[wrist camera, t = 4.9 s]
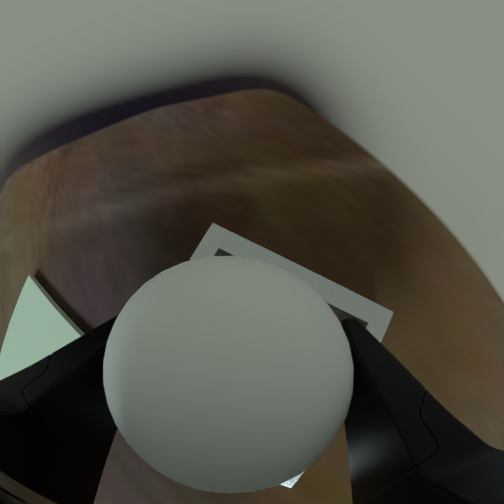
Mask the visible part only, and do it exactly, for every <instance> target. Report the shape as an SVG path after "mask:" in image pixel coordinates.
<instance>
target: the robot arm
mask: <svg viewBox="0 0 504 504" xmlns="http://www.w3.org/2000/svg"><path fill="white" fill-rule="evenodd" d="M117 317H118V315H117V316H115V317H114V318H112V319H110V320H108V321H107V322H105V323H103V324H101V325H100V326H98V327H96V328H94V329H93V330H91V331H89V332H87V333H86V334H84V335H82V336H81V337H79V338H77V339H75V340H74V341H72V342H70V343H68V344H67V345H65V346H63V347H62V348H60V349H58V350H57V351H55V352H53V353H52V354H50V355H48V356H46V357H45V358H43V359H41V360H39V361H38V362H36V363H34V364H32V365H30V366H28V367H26V368H24V369H22V370H20V371H18V372H16V373H14V374H12V375H10V376H8V377H6V378H4V379H2V380H0V504H93V503H94V500H95V496H96V493H97V489H98V486H99V483H100V479H101V476H102V473H103V469H104V466H105V463H106V460H107V457H108V454H109V451H110V448H111V445H112V442H113V439H114V436H115V433H116V430H117V428H118V427H117V426H116V424H115V422H114V419H113V417H112V414H111V412H110V409H109V407H108V404H107V399H106V394H105V389H104V384H103V361H104V355H105V350H106V345H107V341H108V338H109V335H110V333H111V330H112V328H113V325H114V323H115V321H116V319H117ZM341 326H342V328H343V330H344V333H345V335H346V337H347V340H348V342H349V346H350V351H351V356H352V361H353V366H354V381H353V394H352V399H351V403H350V407H349V411H348V414H347V417H346V419H345V421H344V423H345V431H346V439H347V447H348V456H349V465H350V476H351V487H352V501H353V504H504V451H503V450H499V449H496V448H493V447H491V446H489V445H488V444H486V443H485V442H484V441H482V440H481V439H480V438H479V437H478V436H477V435H475V434H474V433H473V432H472V431H471V430H469V429H468V428H467V427H466V426H465V425H464V424H462V423H461V422H460V421H459V420H458V419H456V418H455V417H454V416H453V415H452V414H451V413H450V412H449V411H448V410H446V409H445V408H444V407H443V406H442V405H441V404H440V403H439V402H438V401H437V400H436V399H435V398H434V397H433V396H432V395H431V394H430V393H429V392H428V390H425V388H424V386H423V385H422V384H421V383H420V382H419V381H418V380H417V379H416V378H415V377H414V376H413V375H412V374H411V373H410V372H409V371H408V370H407V369H406V368H405V367H404V366H403V365H402V364H401V363H400V362H399V361H398V360H397V359H396V358H395V357H394V356H393V355H392V354H391V353H390V352H389V351H388V350H387V349H386V348H385V347H384V346H383V345H382V344H381V343H380V342H379V341H378V340H377V339H376V338H375V337H374V336H373V335H372V334H371V333H370V332H369V331H368V330H367V329H366V328H365V327H364V326H363V325H362V324H361V323H360V322H359V321H358V320H357V319H344V320H343V321H342V323H341Z"/></svg>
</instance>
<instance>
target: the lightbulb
mask: <svg viewBox="0 0 504 504" xmlns="http://www.w3.org/2000/svg"><path fill="white" fill-rule="evenodd" d="M353 381H354V366H353V361H352V356H351V351H350V346H349V342H348V340H347V337H346V335H345V333H344V330H343V328H342V326H341V324H340V321H339V319H338V318H337V316H336V315H335V314H334V312H333V311H332V309H331V308H330V307H329V305H328V304H327V303H326V301H325V300H324V299H323V298H322V297H321V296H320V295H319V294H318V293H317V292H316V291H315V290H314V289H313V288H312V287H310V286H309V285H308V284H307V283H306V282H305V281H303V280H302V279H300V278H298V277H297V276H295V275H293V274H292V273H290V272H289V271H287V270H285V269H284V268H281V267H278V266H276V265H273V264H270V263H268V262H265V261H262V260H259V259H253V258H247V257H241V256H210V257H205V258H200V259H196V260H191V261H186V262H183V263H180V264H178V265H176V266H173V267H171V268H169V269H166V270H164V271H162V272H161V273H159V274H158V275H156V276H155V277H153V278H152V279H150V280H149V281H148V282H146V283H145V284H144V285H143V286H142V287H141V288H140V289H139V290H138V291H137V292H136V293H135V294H134V295H133V296H132V297H131V298H130V299H129V300H128V302H127V303H126V305H125V306H124V308H123V309H122V311H121V312H120V314H119V315H118V317H117V319H116V321H115V323H114V325H113V328H112V330H111V333H110V335H109V338H108V341H107V345H106V350H105V355H104V361H103V384H104V389H105V394H106V399H107V404H108V407H109V409H110V412H111V414H112V417H113V419H114V422H115V424H116V426H117V427H118V429H119V431H120V432H121V434H122V436H123V437H124V439H125V440H126V442H127V443H128V444H129V445H130V447H131V448H132V449H133V450H134V451H135V452H136V453H137V454H138V456H139V457H140V458H141V459H142V460H144V461H145V462H146V463H147V464H149V465H150V466H151V467H152V468H154V469H155V470H156V471H158V472H159V473H161V474H163V475H164V476H166V477H168V478H170V479H172V480H174V481H176V482H178V483H180V484H183V485H186V486H189V487H192V488H195V489H198V490H202V491H209V492H217V493H244V492H255V491H259V490H263V489H267V488H270V487H274V486H277V485H280V484H282V483H284V482H286V481H288V480H290V479H292V478H294V477H296V476H298V475H300V474H301V473H302V472H304V471H305V470H306V469H307V468H309V467H310V466H311V465H313V464H314V463H315V462H316V461H318V460H319V458H320V457H321V456H322V455H323V454H324V453H325V451H326V450H327V449H328V448H329V447H330V445H331V444H332V443H333V442H334V440H335V438H336V437H337V435H338V433H339V431H340V429H341V427H342V425H343V423H344V421H345V419H346V417H347V414H348V411H349V407H350V403H351V399H352V394H353Z"/></svg>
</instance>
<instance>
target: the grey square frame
mask: <svg viewBox="0 0 504 504" xmlns="http://www.w3.org/2000/svg"><path fill="white" fill-rule="evenodd" d="M210 256H241V257H247V258H253V259H259V260H262V261H265V262H268V263H270V264H273V265H276V266H278V267H281V268H284V269H285V270H287V271H289V272H290V273H292V274H293V275H295V276H297V277H298V278H300V279H302V280H303V281H305V282H306V283H307V284H308V285H309V286H310V287H312V288H313V289H314V290H315V291H316V292H317V293H318V294H319V295H320V296H321V297H322V298H323V299H324V300H325V301H326V303H327V304H328V305H329V307H330V308H331V309H332V311H333V312H334V314H335V315H336V316H337V318H338V319H340V320H342V321H343V320H344V319H357V320H358V321H359V322H360V323H361V324H362V325H363V326H364V327H365V328H366V329H367V330H368V331H369V332H370V333H371V334H372V335H373V336H374V337H375V338H376V339H377V340H378V341H379V342H380V343H381V341H382V339H383V337H384V335H385V332H386V330H387V327H388V325H389V323H390V320H391V318H392V315H393V313H394V312H392V311H390V310H388V309H386V308H384V307H383V306H381V305H379V304H377V303H375V302H373V301H371V300H369V299H367V298H365V297H363V296H361V295H359V294H357V293H355V292H353V291H351V290H349V289H347V288H345V287H343V286H341V285H339V284H337V283H335V282H333V281H331V280H329V279H327V278H325V277H323V276H320V275H318V274H316V273H314V272H312V271H310V270H308V269H306V268H304V267H302V266H300V265H298V264H296V263H294V262H292V261H290V260H288V259H286V258H284V257H282V256H280V255H278V254H276V253H274V252H272V251H270V250H268V249H266V248H264V247H262V246H259V245H257V244H255V243H253V242H251V241H249V240H247V239H245V238H243V237H241V236H239V235H237V234H235V233H233V232H231V231H229V230H227V229H224V228H222V227H220V226H218V225H216V224H214V223H212V225H211V226H210V228H209V229H208V231H207V232H206V234H205V236H204V237H203V239H202V240H201V242H200V244H199V245H198V247H197V249H196V250H195V252H194V253H193V255H192V257H191V258H190V260H189V261H191V260H196V259H200V258H205V257H210ZM303 473H304V472H302V473H301V474H300V475H298V476H296V477H294V478H292V479H290V480H288V481H286V482H284V483H282V484H281V485H284V486H286V487H289V488H291V487H292V486H293V485H294V484H295V483H296V481H297V480H298V479H299V478H300V476H301V475H302V474H303Z"/></svg>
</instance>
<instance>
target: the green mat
mask: <svg viewBox="0 0 504 504" xmlns="http://www.w3.org/2000/svg"><path fill="white" fill-rule="evenodd" d="M84 334H85V333H84V332H83V331H82V330H81V329H80V328H79V327H78V326H77V325H76V324H75V323H74V322H73V321H72V320H71V319H70V318H69V317H68V316H67V315H66V314H65V313H64V311H63V310H62V309H61V308H60V307H59V306H58V305H57V304H56V302H55V301H54V300H53V299H52V298H51V297H50V295H49V294H48V293H47V292H46V291H45V289H44V288H43V287H42V286H41V284H40V283H39V282H38V281H37V279H36V278H35V277H32V276H30V275H29V276H28V278H27V280H26V282H25V285H24V287H23V289H22V292H21V294H20V297H19V299H18V302H17V304H16V307H15V310H14V312H13V315H12V318H11V321H10V324H9V327H8V330H7V333H6V336H5V339H4V343H3V346H2V350H1V354H0V380H2V379H4V378H6V377H8V376H10V375H12V374H14V373H16V372H18V371H20V370H22V369H24V368H26V367H28V366H30V365H32V364H34V363H36V362H38V361H39V360H41V359H43V358H45V357H46V356H48V355H50V354H52V353H53V352H55V351H57V350H58V349H60V348H62V347H63V346H65V345H67V344H68V343H70V342H72V341H74V340H75V339H77V338H79V337H81V336H82V335H84Z"/></svg>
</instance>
